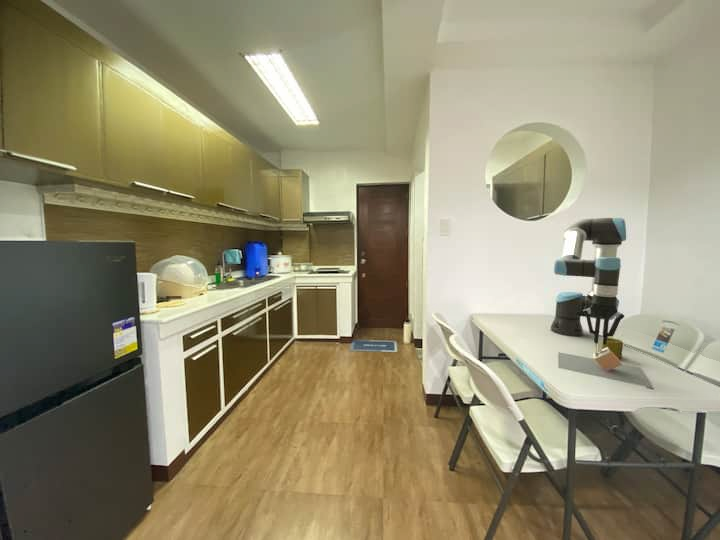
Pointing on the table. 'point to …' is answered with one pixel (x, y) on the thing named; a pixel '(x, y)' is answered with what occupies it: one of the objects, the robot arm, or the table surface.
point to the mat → (594, 368)
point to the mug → (614, 346)
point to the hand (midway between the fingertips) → (599, 351)
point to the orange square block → (607, 359)
